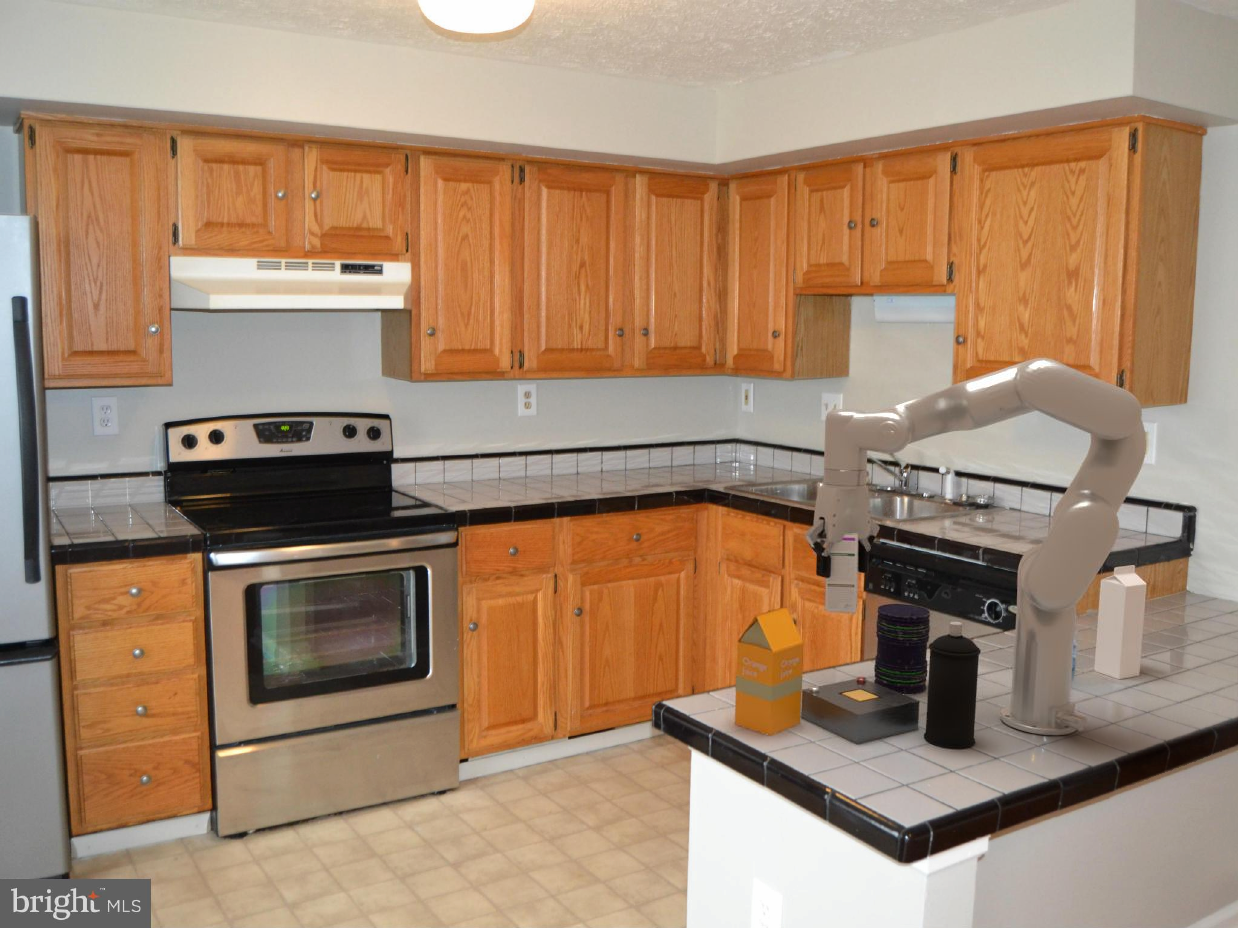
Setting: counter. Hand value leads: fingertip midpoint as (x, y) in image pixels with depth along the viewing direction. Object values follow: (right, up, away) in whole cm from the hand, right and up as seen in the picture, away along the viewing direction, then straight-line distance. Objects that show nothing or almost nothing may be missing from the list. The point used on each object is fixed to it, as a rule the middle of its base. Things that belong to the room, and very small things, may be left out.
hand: (841, 573), depth 196 cm
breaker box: (+1, -25, -9) cm, 27 cm away
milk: (+60, -22, +22) cm, 67 cm away
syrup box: (0, -7, +1) cm, 7 cm away
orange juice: (-15, -25, -10) cm, 31 cm away
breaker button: (+1, -23, -9) cm, 25 cm away
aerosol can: (+15, -26, -16) cm, 34 cm away
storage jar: (+14, -23, +11) cm, 29 cm away
